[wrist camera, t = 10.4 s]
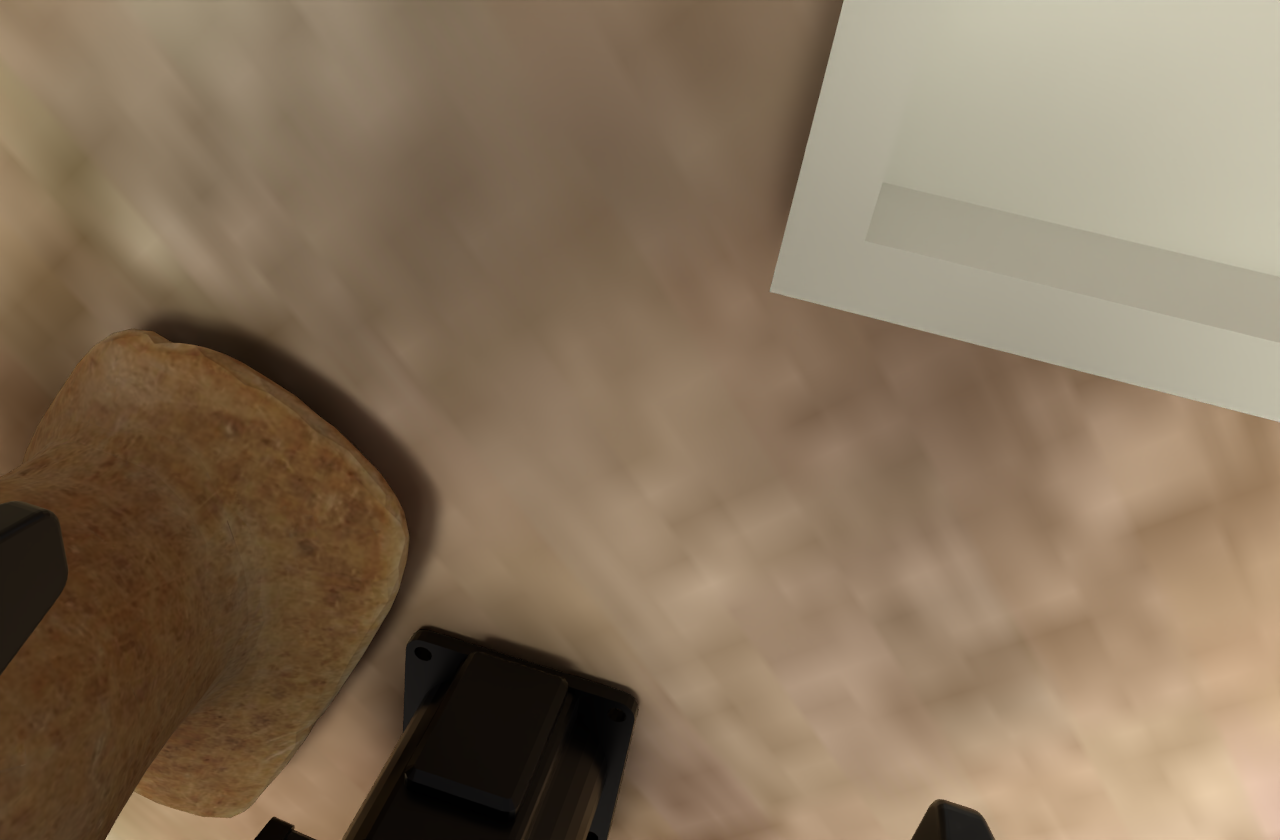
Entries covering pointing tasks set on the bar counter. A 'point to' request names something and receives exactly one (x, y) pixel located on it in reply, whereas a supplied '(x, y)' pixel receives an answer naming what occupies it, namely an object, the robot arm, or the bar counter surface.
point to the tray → (1055, 185)
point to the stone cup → (186, 588)
